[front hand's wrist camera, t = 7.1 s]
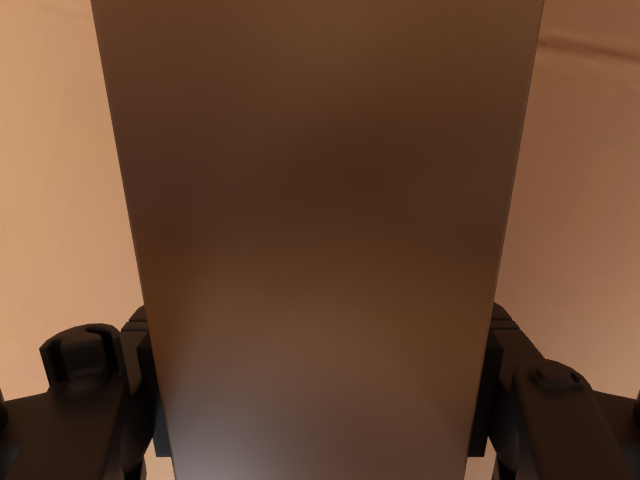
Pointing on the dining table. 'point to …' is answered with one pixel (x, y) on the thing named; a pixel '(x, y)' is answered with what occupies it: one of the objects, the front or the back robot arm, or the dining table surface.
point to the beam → (318, 222)
